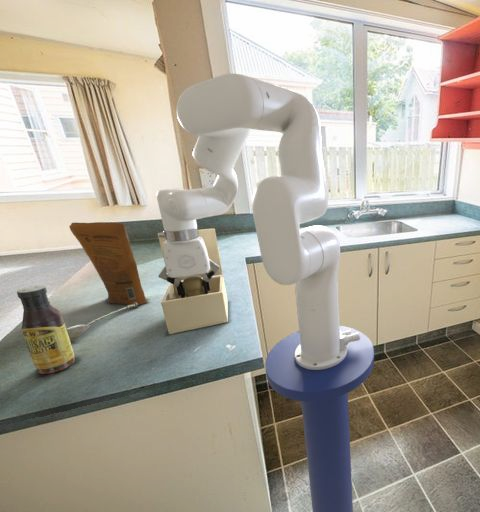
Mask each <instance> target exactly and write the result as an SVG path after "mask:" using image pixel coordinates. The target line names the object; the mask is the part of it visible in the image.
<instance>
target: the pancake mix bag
mask: <svg viewBox="0 0 480 512" xmlns="http://www.w3.org/2000/svg"><path fill="white" fill-rule="evenodd" d="M68 227H69V229H70V230H69V231H70V232H71V233H72V235H73V236H74V237H75V239H76V240H77V241H78V243H79V244H80V246H81V248H82V249H83V251H84V253H85V254H86V256H87V257H88V259H89V261H90V262H91V264H92V265H93V268H94V269H95V270H96V271H95V272H97V274H98V277H99V278H100V280H101V281H102V283H103V285H104V288H105V290H106V292H107V303H110V304H118V305H126V306H129V305H132V304H133V303H134V302H136V303H137V304H138V306H140V305H145V304H148V300H147V298H146V294H145V291H144V289H143V287H142V282H141V279H140V275H139V270H138V263H137V260H136V258H135V256H134V252H133V248H132V246H131V243H130V238H129V235H128V231H127V224H124V223H121V222H114V221H112V222H111V221H99V222H98V221H96V222H95V221H94V222H71V224H70V225H68Z"/></svg>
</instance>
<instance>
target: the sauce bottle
mask: <svg viewBox="0 0 480 512" xmlns="http://www.w3.org/2000/svg"><path fill="white" fill-rule="evenodd" d="M47 293H48V290H47V287H46V286H45V285H40V284H39V285H31V286H26V287H21V288H20V289H18V290H17V291H16V294H17V297H18V298H19V300H20V301H21V305H22V309H23V311H22V312H23V313H22V315H23V316H22V323H21V333H22V335H23V338H24V340H25V343H26V347H27V350H28V352H29V355H30V358H31V360H32V362H33V365H34V368H35V369H36V371H37V373H39V374H41V375H49V374H54V373H58V372H61V371H63V370H65V369H67V368H68V367H70V366H71V365H72V364H74V362H75V360H76V359H75V352H74V349H73V346H72V342H70V339H69V336H68V333H67V330H66V329H67V327H66V323H65V321H64V320H63V316H62V313H61V311H60V310H58V309H57V308H55V307H53V306H52V305H51V302H50V301H49V298H48V295H47Z"/></svg>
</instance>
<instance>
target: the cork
mask: <svg viewBox="0 0 480 512" xmlns="http://www.w3.org/2000/svg"><path fill="white" fill-rule="evenodd" d="M182 282H183V283H182V286H183V288H184V290H186V297H191V296H197V295H203V294H205V293H204V290H203V288H202V287H203V278H201V277H189V278H187V279H185V280H182Z"/></svg>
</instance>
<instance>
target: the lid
mask: <svg viewBox="0 0 480 512" xmlns="http://www.w3.org/2000/svg"><path fill="white" fill-rule="evenodd" d="M159 233H160V232H158V233H157V237H158V241H159V245H160V249H161V254H162V257H163V261H164V263H165V259H164V249H163V243H164V242H165V241H166V239H165V238H163V237H161V238H160V237H159ZM198 233H199V237H202V239H203V241H204V243H205V246H206V249H207V253H208V256H209V259H210V260H212V261H213V262H215V263H216V264H217V265H219V266H220V269H219V270H218V271H217V272H216V273H215V274H214V275H213V276H212V277H217V276H224V275H223V273H224V272H223V267H222V262H221V256H220V249H219V245H218V244H219V243H218V239H217V234H216V228H215V227H214V228H205V229H203V228H202V229H198ZM165 266H166V265H165V264H164V267H165ZM212 269H213V268H212V267H211V266H210V270H209V272H210V271H211V270H212ZM209 272H207V273H209ZM189 277H201V278H202V276H201V275H200V274H199V275H192V276H185V277H181V281H182V282H183V281H184V280H185V279H187V278H189ZM202 279H203V278H202Z"/></svg>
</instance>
